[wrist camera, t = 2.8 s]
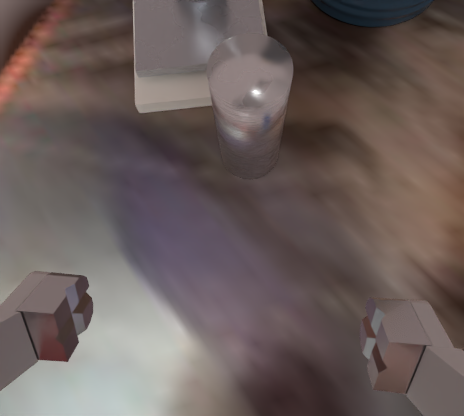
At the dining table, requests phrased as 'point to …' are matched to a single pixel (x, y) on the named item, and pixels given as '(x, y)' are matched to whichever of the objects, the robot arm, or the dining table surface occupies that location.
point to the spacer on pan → (196, 1)
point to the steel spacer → (249, 101)
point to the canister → (373, 11)
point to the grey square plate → (187, 32)
